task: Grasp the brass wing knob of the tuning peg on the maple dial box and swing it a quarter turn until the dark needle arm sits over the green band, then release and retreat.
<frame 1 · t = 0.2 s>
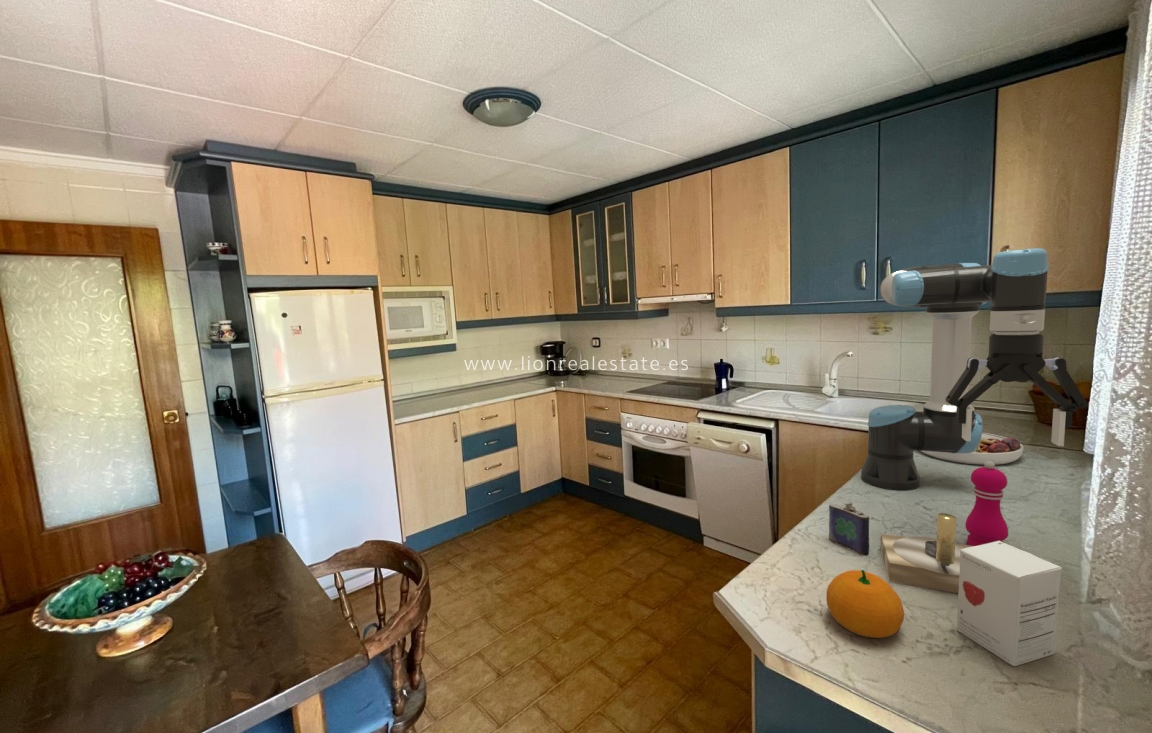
hand: (1010, 441, 91), 28 cm above the counter, fingers open, 13 cm apart
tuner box: (936, 573, 96), on the counter
bowl: (963, 454, 165), on the counter
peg: (941, 534, 93), point 10 cm above the counter, hinge at 0.0°
supplement box: (1003, 643, 77), on the counter
fruit: (863, 625, 83), on the counter
pepper mill: (985, 548, 105), on the counter
flask: (848, 547, 109), on the counter
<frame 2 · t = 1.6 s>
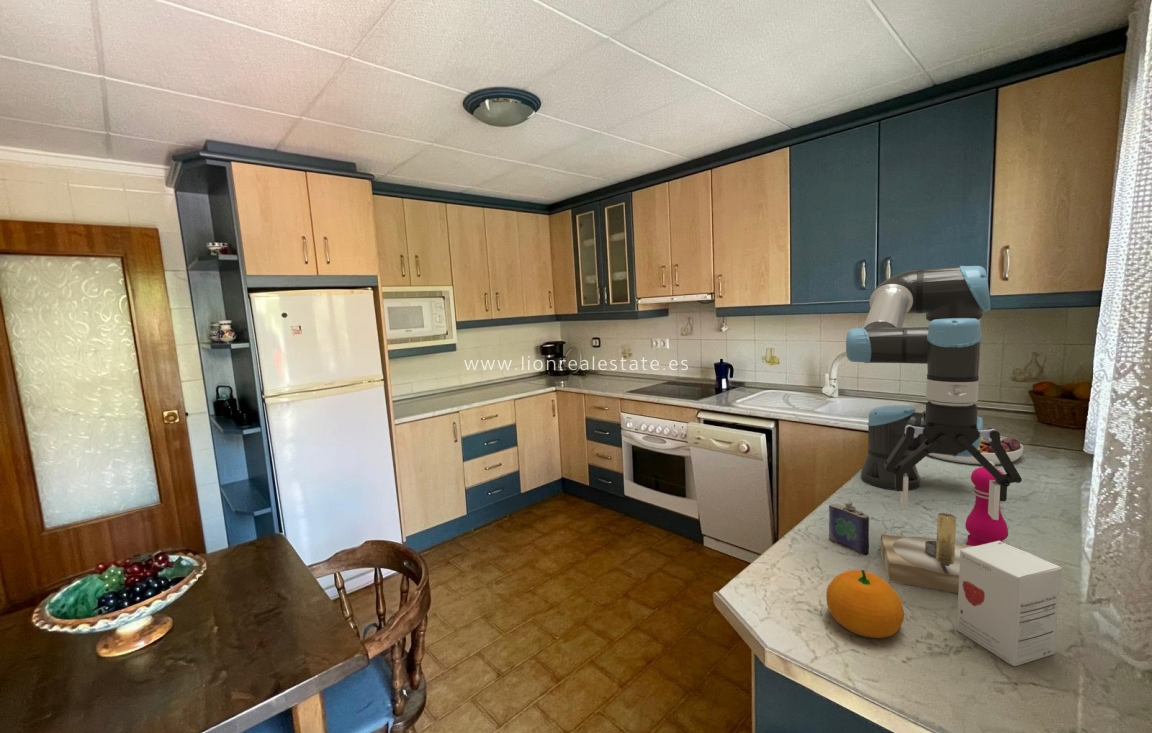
hand: (947, 511, 89), 16 cm above the counter, fingers open, 13 cm apart
nothing on the counter moved.
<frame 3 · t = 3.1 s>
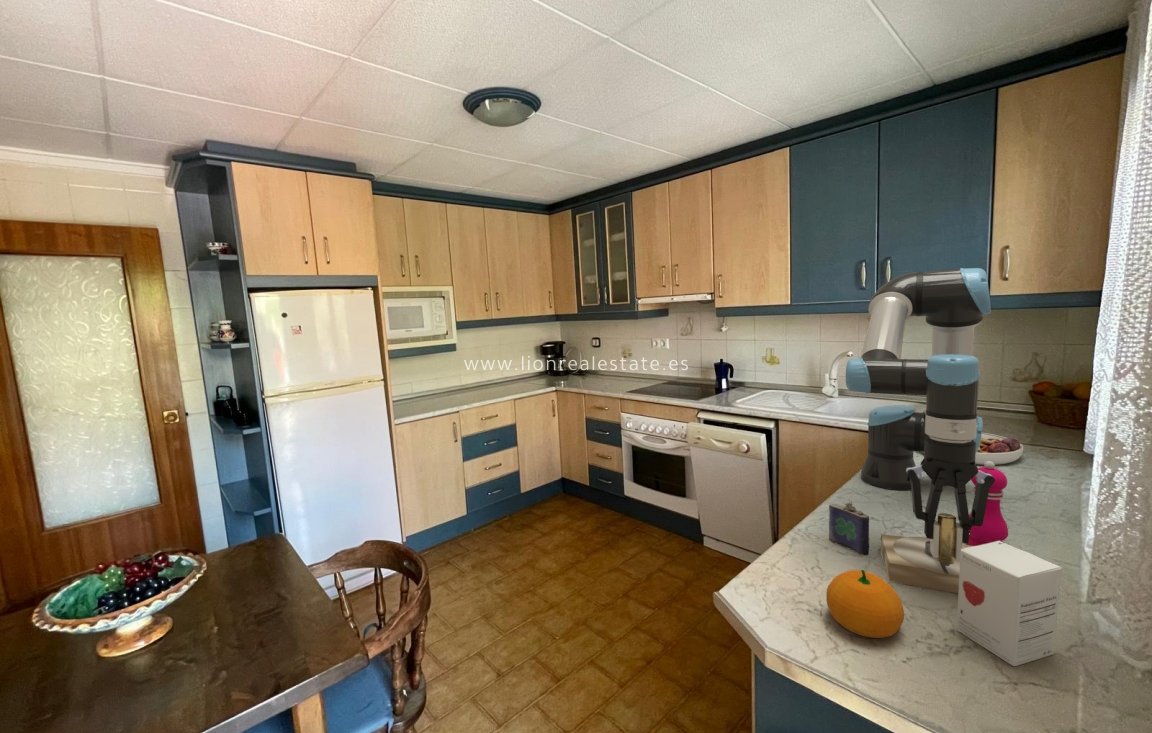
hand: (945, 555, 90), 7 cm above the counter, fingers closed on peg, 3 cm apart
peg: (941, 534, 93), point 10 cm above the counter, hinge at 0.0°, touching gripper
everything else where it was.
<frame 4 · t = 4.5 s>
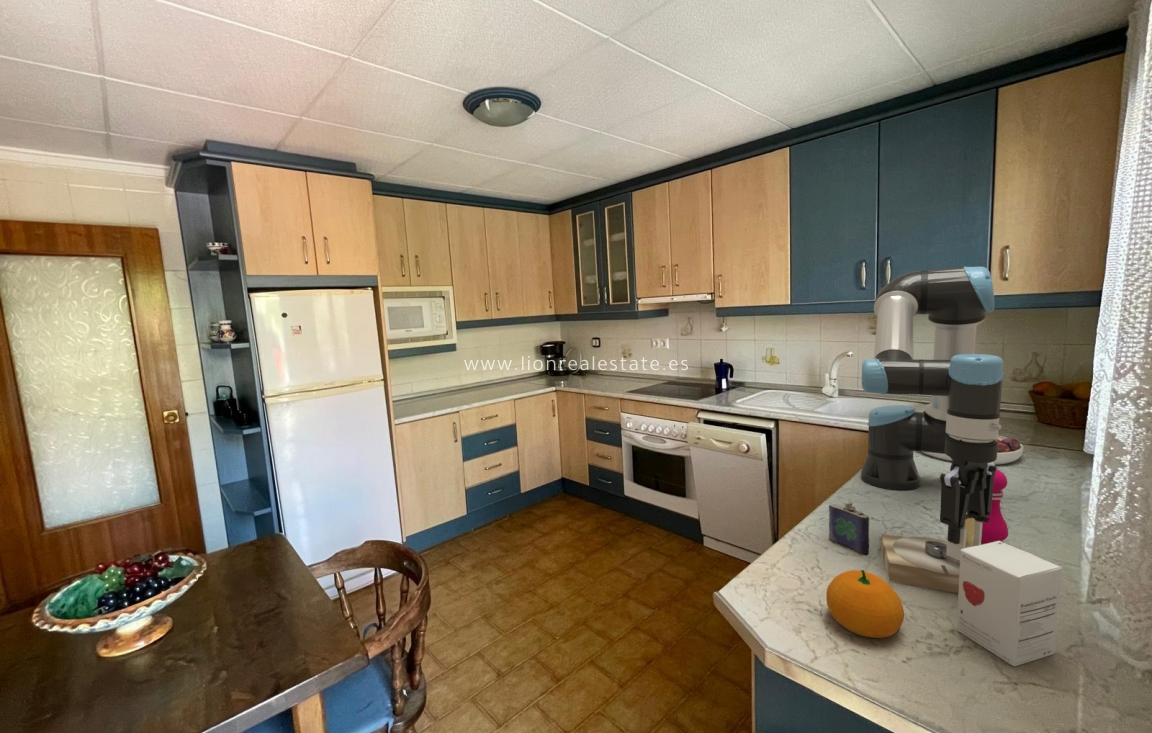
hand: (963, 554, 90), 7 cm above the counter, fingers open, 4 cm apart
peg: (949, 535, 92), point 10 cm above the counter, hinge at 29.6°, touching gripper
everything else where it was.
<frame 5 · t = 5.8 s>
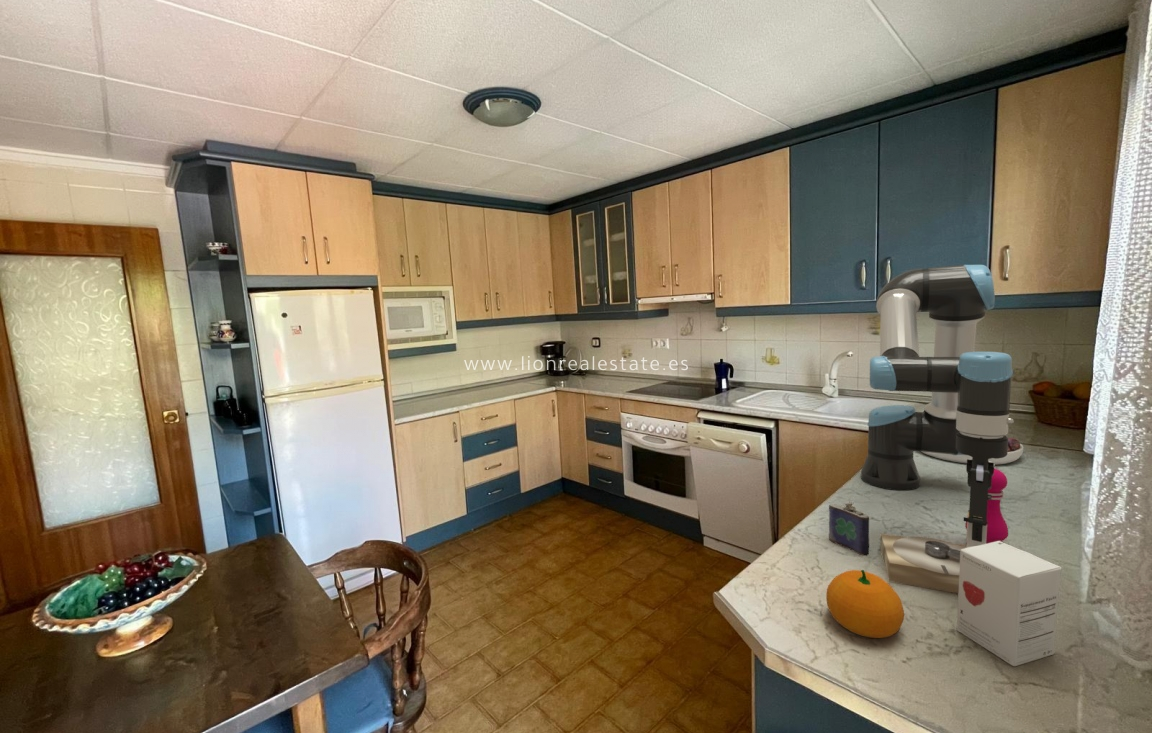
hand: (976, 542, 91), 9 cm above the counter, fingers open, 11 cm apart
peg: (954, 533, 93), point 10 cm above the counter, hinge at 63.8°
everything else where it was.
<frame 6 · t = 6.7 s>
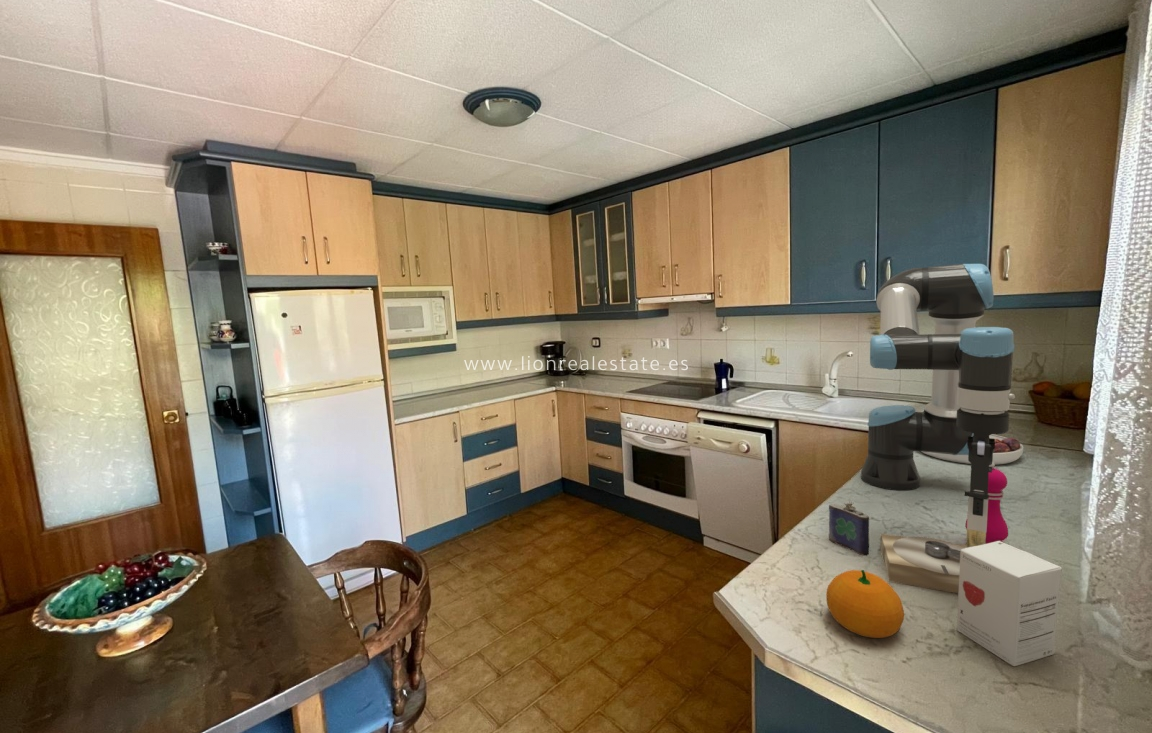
hand: (977, 515, 91), 14 cm above the counter, fingers open, 13 cm apart
nothing on the counter moved.
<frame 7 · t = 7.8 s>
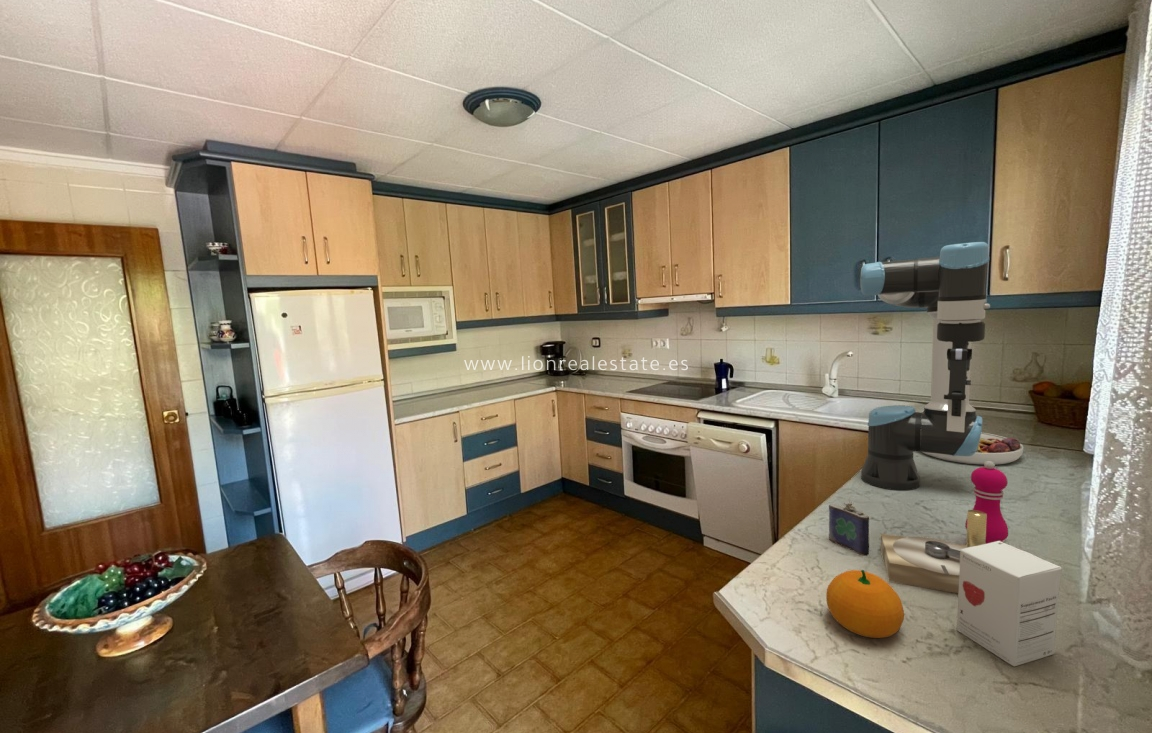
hand: (956, 422, 98), 30 cm above the counter, fingers open, 13 cm apart
nothing on the counter moved.
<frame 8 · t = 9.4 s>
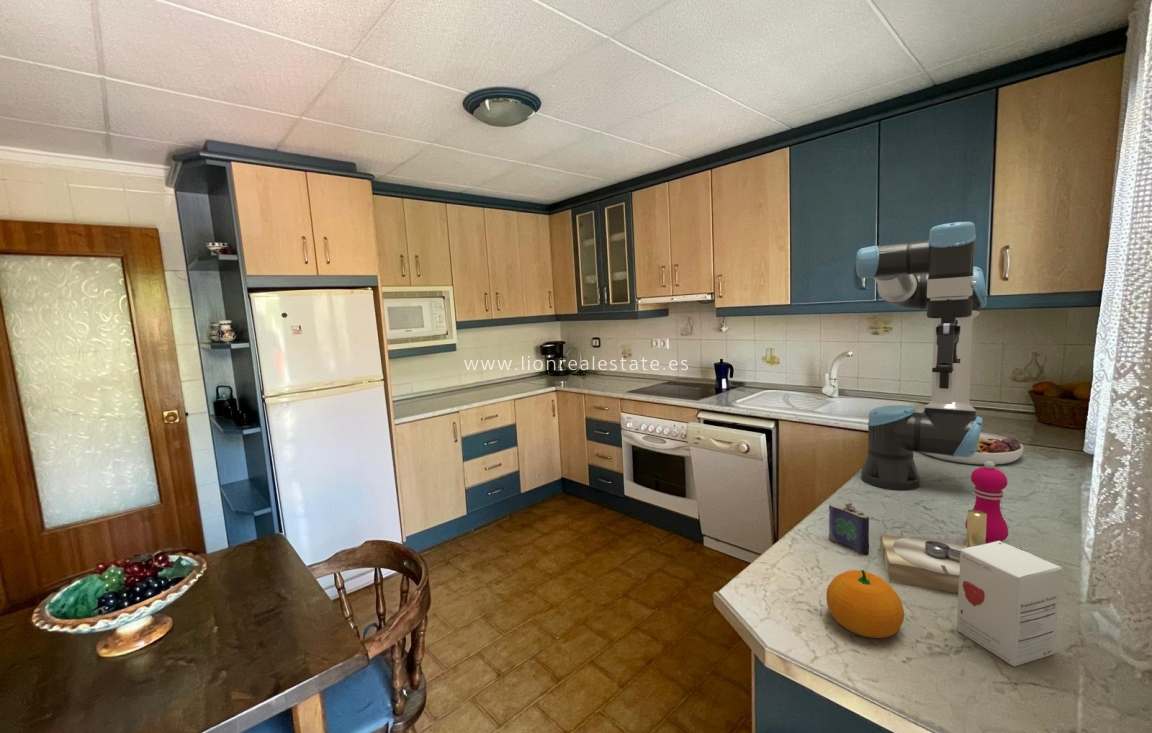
hand: (945, 397, 101), 35 cm above the counter, fingers open, 13 cm apart
nothing on the counter moved.
at the end: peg at +64° (first picture: +0°); the gripper is holding nothing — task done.
